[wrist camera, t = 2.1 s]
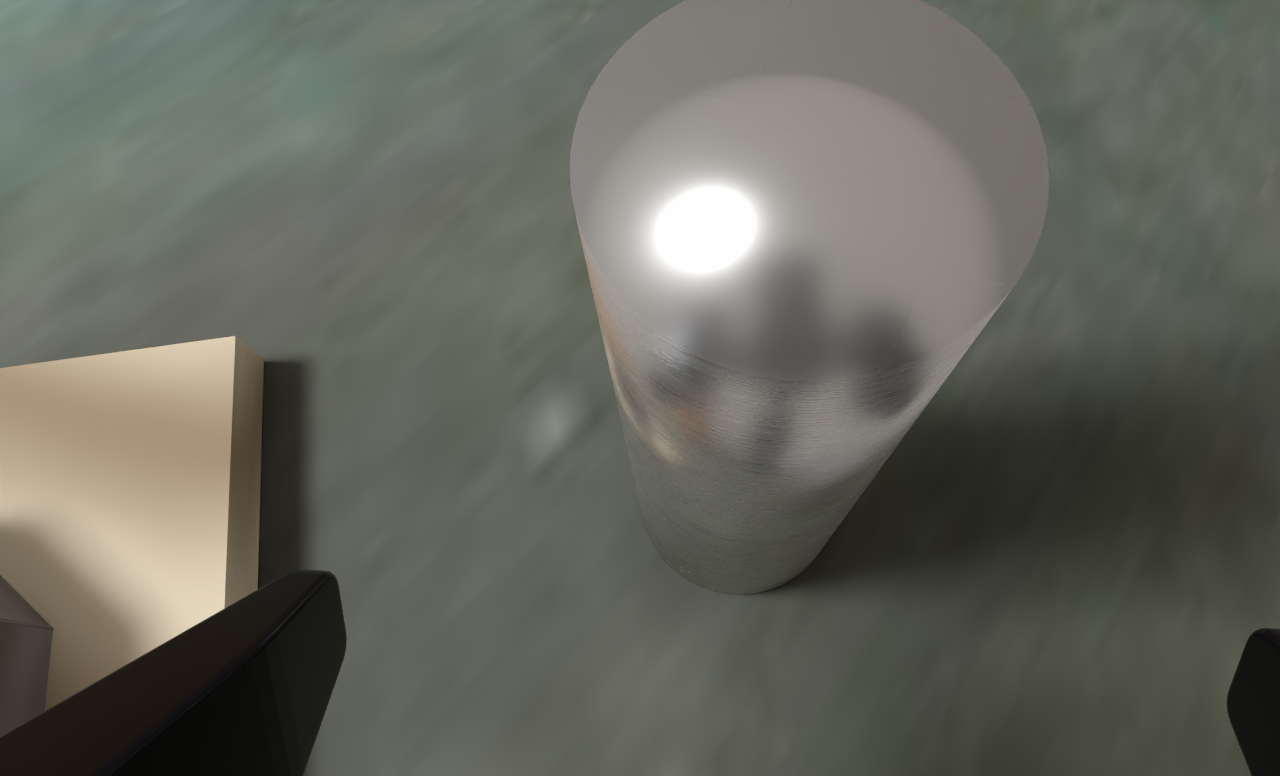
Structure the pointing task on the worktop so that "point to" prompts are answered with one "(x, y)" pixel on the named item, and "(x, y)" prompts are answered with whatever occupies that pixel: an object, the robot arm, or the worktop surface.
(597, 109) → the pin
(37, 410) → the socket board
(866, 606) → the worktop surface
